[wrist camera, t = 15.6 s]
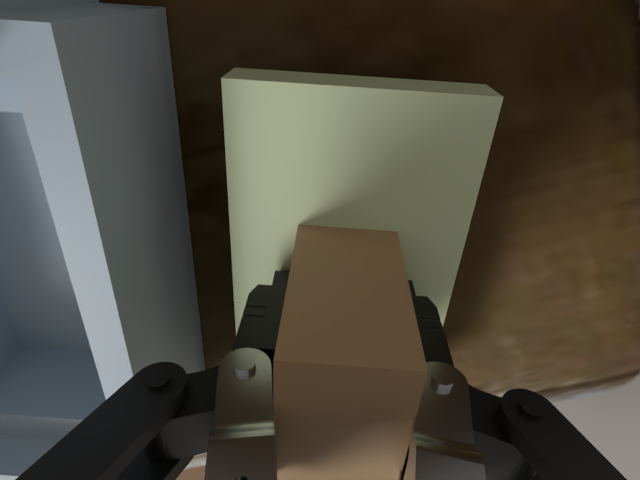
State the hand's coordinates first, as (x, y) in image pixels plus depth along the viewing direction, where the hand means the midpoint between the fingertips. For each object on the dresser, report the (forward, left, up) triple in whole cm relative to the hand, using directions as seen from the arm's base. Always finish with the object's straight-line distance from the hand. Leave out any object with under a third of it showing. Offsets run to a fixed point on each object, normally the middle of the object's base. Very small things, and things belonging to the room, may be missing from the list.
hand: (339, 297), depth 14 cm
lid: (0, 0, -2) cm, 2 cm away
